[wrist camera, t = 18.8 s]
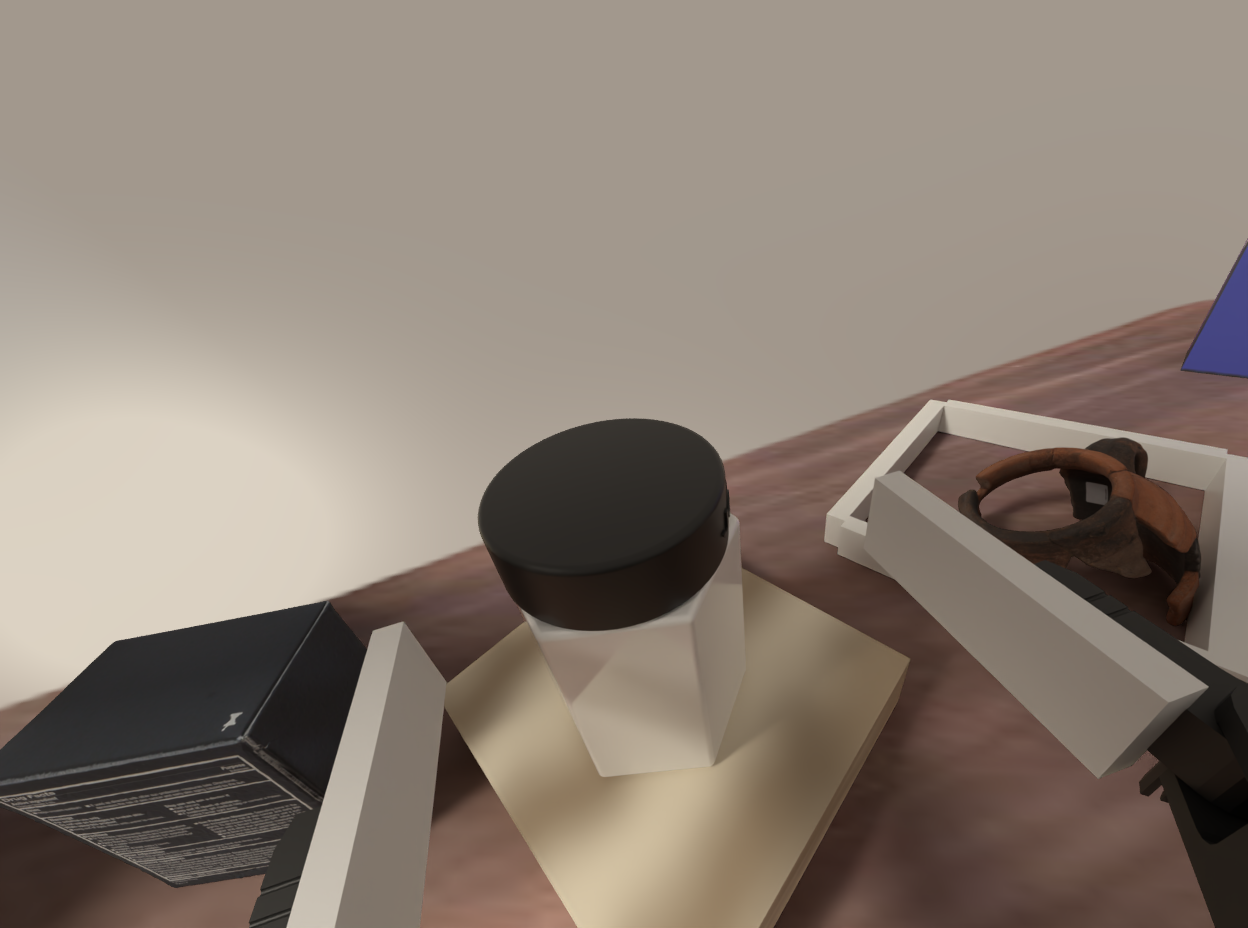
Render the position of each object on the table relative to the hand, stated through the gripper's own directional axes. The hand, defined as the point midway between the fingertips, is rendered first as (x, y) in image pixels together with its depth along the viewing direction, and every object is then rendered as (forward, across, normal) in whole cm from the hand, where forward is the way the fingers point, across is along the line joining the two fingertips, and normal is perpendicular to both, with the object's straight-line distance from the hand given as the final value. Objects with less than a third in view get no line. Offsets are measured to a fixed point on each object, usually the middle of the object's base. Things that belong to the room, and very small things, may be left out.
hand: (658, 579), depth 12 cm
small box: (+6, -19, -14) cm, 24 cm away
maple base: (+4, 0, -14) cm, 15 cm away
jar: (+4, -1, -11) cm, 11 cm away
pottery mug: (+5, +25, -14) cm, 29 cm away
